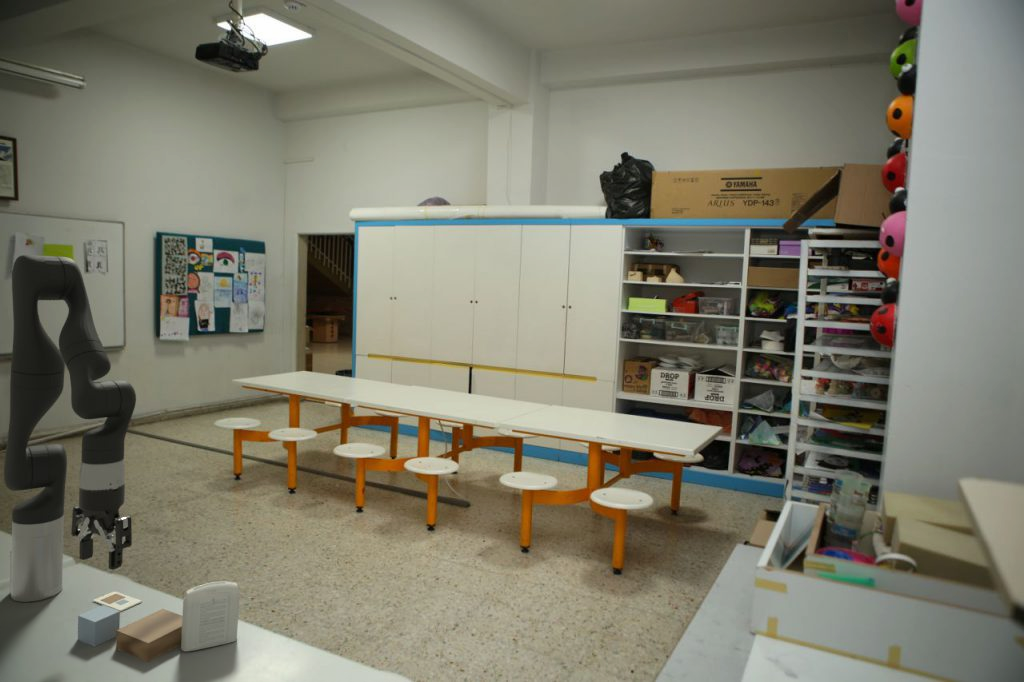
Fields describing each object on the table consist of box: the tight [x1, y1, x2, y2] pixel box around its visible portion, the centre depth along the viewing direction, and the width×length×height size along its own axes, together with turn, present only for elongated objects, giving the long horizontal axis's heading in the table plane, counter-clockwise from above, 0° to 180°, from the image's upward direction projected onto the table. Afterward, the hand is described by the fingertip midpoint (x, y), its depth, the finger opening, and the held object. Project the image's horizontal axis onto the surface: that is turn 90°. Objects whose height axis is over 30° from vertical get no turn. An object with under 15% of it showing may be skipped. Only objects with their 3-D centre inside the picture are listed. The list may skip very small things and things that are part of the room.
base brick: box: [115, 608, 183, 663], centre depth 127 cm, size 9×10×4 cm
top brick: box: [77, 605, 121, 647], centre depth 128 cm, size 5×5×5 cm
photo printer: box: [180, 580, 240, 652], centre depth 128 cm, size 10×4×12 cm, turn 123°
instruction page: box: [92, 590, 143, 613], centre depth 142 cm, size 9×5×1 cm, turn 67°
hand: (100, 563), depth 127 cm, fingers open, 8 cm apart
